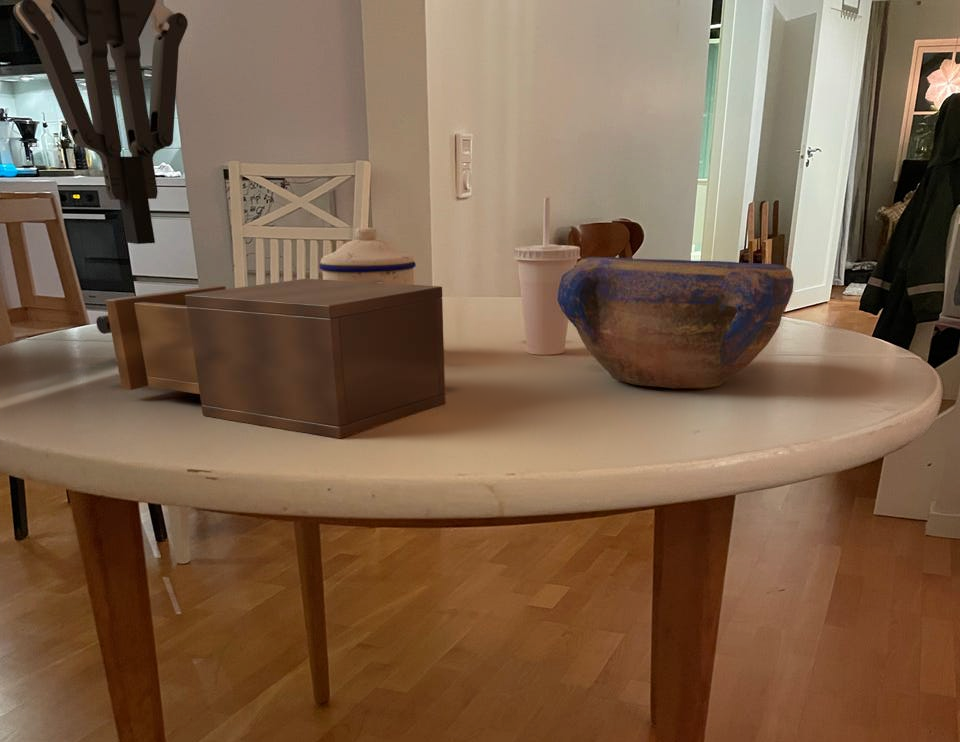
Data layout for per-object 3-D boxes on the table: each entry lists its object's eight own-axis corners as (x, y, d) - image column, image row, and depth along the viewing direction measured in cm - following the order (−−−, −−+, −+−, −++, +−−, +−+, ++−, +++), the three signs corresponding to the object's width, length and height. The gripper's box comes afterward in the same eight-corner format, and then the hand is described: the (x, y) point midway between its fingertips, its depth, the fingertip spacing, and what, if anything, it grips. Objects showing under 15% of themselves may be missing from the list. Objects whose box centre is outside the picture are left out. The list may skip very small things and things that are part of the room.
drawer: (78, 382, 77) (60, 295, 74) (185, 360, 85) (173, 282, 82) (230, 405, 68) (217, 309, 65) (332, 379, 76) (325, 292, 73)
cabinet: (202, 415, 69) (184, 294, 65) (315, 385, 79) (305, 278, 75) (340, 438, 62) (329, 305, 59) (445, 403, 72) (442, 286, 68)
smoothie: (505, 355, 91) (505, 198, 84) (524, 345, 96) (525, 196, 90) (568, 358, 89) (573, 197, 82) (584, 347, 94) (589, 196, 88)
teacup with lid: (320, 352, 94) (309, 227, 88) (407, 346, 96) (401, 224, 91) (341, 373, 83) (330, 233, 78) (437, 366, 86) (433, 230, 81)
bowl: (794, 368, 83) (811, 248, 78) (760, 410, 68) (778, 266, 64) (604, 355, 90) (609, 244, 85) (536, 391, 75) (538, 260, 71)
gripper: (1, -133, 61) (76, 249, 72) (188, -103, 69) (230, 240, 79) (-25, -108, 67) (48, 244, 77) (151, -82, 74) (195, 237, 85)
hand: (140, 242), depth 78 cm, fingers closed
